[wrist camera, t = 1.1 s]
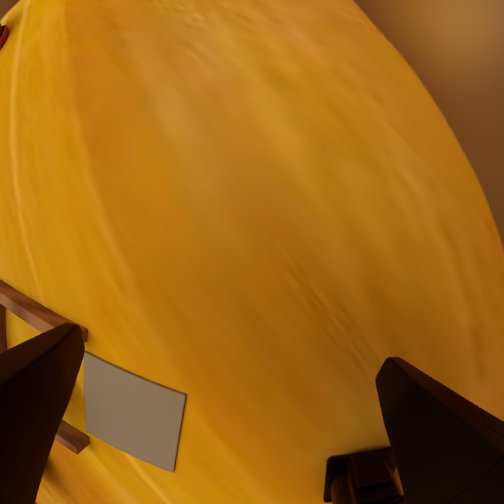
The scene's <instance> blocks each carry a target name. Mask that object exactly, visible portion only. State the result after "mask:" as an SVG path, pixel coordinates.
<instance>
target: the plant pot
mask: <svg viewBox="0 0 504 504" xmlns="http://www.w3.org/2000/svg"><path fill="white" fill-rule="evenodd" d="M7 33H8V27H7V26H6V25H3V26H1V24H0V48H1V46H2V45H3V43H4V41H5V39H6V36H7Z"/></svg>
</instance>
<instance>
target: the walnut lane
mask: <svg viewBox="0 0 504 504" xmlns="http://www.w3.org/2000/svg"><path fill="white" fill-rule="evenodd" d="M5 307H6V308H7V309H8V310H10V311H11V312H13V313H14V314H15V315H17V316H18V317H20V318H21V319H23V320H24V321H25V322H27V323H28V324H30V325H31V326H33V327H34V328H36V329H37V330H39V331H41V332H42V333H44V332H46V331H48V330H50V329H53V328H55V327H57V326H59V325H61V324H63V323H65V322H70V323H74V322H72V321H70V320H68V319H66V318H64V317H62V316H60V315H58V314H57V313H55V312H53V311H51V310H49V309H48V308H46V307H44V306H42V305H40V304H39V303H37V302H35V301H34V300H32V299H30V298H29V297H27V296H25V295H24V294H22V293H20V292H19V291H17V290H16V289H14V288H13V287H11V286H9V285H8V284H6V283H5V282H3V281H2V280H0V353H2V352H4V351H6V350H7V345H6V329H5ZM74 324H76V323H74ZM79 326H80V325H79ZM80 327H81V331H82V336H83V341H84V342H87V329H86V328H84V327H82V326H80ZM55 440H56V441H58V442H59V443H61V444H62V445H64V446H65V447H67V448H68V449H70V450H71V451H73V452H74V453H76V454H79V453H80V452H81V451H82V450H83V449H84V448H85V447H86V446H87V445H89V436H87V435H85V434H83V433H82V432H80V431H79V430H77V429H75V428H74V427H72V426H71V425H69V424H68V423H66V422H65V421H63V420H62V421H61V423H60V426H59V428H58V431H57V434H56V436H55Z"/></svg>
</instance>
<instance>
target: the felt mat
mask: <svg viewBox="0 0 504 504" xmlns="http://www.w3.org/2000/svg"><path fill="white" fill-rule="evenodd" d="M185 400H186V394H185V393H182V392H179V391H176V390H173V389H171V388H168V387H165V386H163V385H160V384H158V383H155V382H152V381H150V380H148V379H145V378H143V377H140V376H138V375H136V374H133V373H131V372H129V371H126V370H124V369H122V368H120V367H118V366H115V365H113V364H111V363H109V362H107V361H105V360H103V359H101V358H99V357H97V356H95V355H93V354H91V353H89V352H87V351H85V353H84V401H85V419H86V431H87V432H88V433H90V434H92V435H93V436H95V437H97V438H99V439H100V440H102V441H104V442H106V443H108V444H110V445H112V446H114V447H115V448H117V449H119V450H121V451H123V452H126V453H128V454H130V455H132V456H134V457H136V458H138V459H141V460H143V461H145V462H147V463H150V464H152V465H154V466H157V467H159V468H162V469H164V470H167V471H170V472H172V473H173V472H174V468H175V461H176V455H177V448H178V442H179V435H180V429H181V423H182V417H183V411H184V405H185Z"/></svg>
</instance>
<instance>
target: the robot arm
mask: <svg viewBox="0 0 504 504" xmlns="http://www.w3.org/2000/svg"><path fill="white" fill-rule="evenodd" d="M84 353H85V346H84V341H83V336H82V331H81V327H80V326H79V325H78V324H74V323H70V322H65V323H63V324H61V325H59V326H57V327H55V328H53V329H50V330H48V331H46V332H44V333H42V334H40V335H38V336H36V337H33V338H31V339H29V340H27V341H25V342H23V343H21V344H19V345H17V346H15V347H12V348H10V349H8V350H6V351H4V352H2V353H0V504H35V500H36V496H37V493H38V489H39V485H40V482H41V479H42V475H43V472H44V469H45V466H46V462H47V459H48V456H49V453H50V451H51V448H52V445H53V442H54V439H55V436H56V434H57V431H58V428H59V426H60V423H61V421H62V418H63V416H64V413H65V411H66V408H67V406H68V403H69V401H70V398H71V395H72V392H73V389H74V385H75V382H76V379H77V375H78V372H79V369H80V366H81V363H82V360H83V357H84ZM376 388H377V392H378V397H379V402H380V406H381V411H382V416H383V421H384V425H385V428H386V431H387V435H388V438H389V441H390V445H391V447H389V448H384V449H379V450H374V451H369V452H364V453H358V454H352V455H345V456H337V457H331V458H329V459H328V460H327V463H326V476H325V487H324V497H323V499H324V502H332V504H504V421H502V420H500V419H498V418H497V417H495V416H493V415H491V414H490V413H488V412H486V411H485V410H483V409H482V408H479V407H478V406H477V405H475V404H473V403H472V402H470V401H469V400H467V399H465V398H464V397H462V396H460V395H459V394H457V393H456V392H454V391H452V390H451V389H449V388H448V387H446V386H444V385H443V384H441V383H440V382H438V381H436V380H435V379H433V378H432V377H430V376H428V375H427V374H425V373H424V372H422V371H420V370H419V369H417V368H416V367H414V366H413V365H411V364H409V363H408V362H406V361H405V360H403V359H401V358H400V357H388V358H387V359H386V360H385V361H384V363H383V365H382V367H381V369H380V370H379V372H378V374H377V376H376ZM331 462H334V463H331ZM396 466H397V470H398V473H399V477H400V481H401V485H402V489H403V493H404V495H402V492H401V490H400V487H399V485H398V483H397V480H396V478H395V475H394V472H395V468H396Z"/></svg>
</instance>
